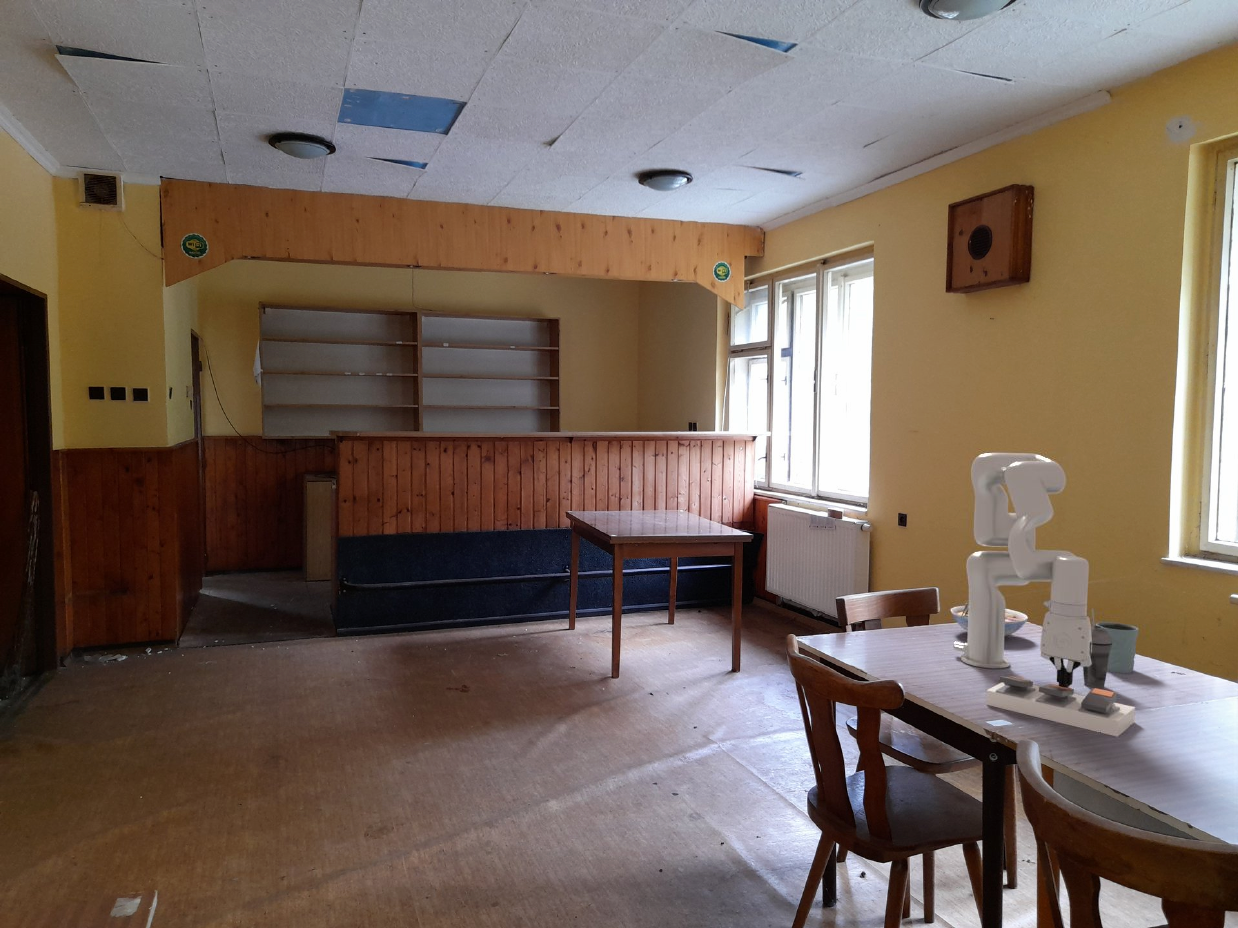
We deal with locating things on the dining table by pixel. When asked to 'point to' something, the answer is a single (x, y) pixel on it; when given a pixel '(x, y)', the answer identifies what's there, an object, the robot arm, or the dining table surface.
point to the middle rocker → (1056, 691)
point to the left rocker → (1016, 682)
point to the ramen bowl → (1012, 618)
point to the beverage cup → (1098, 657)
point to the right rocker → (1099, 700)
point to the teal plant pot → (1121, 646)
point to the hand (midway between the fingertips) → (1064, 686)
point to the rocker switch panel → (1061, 709)
